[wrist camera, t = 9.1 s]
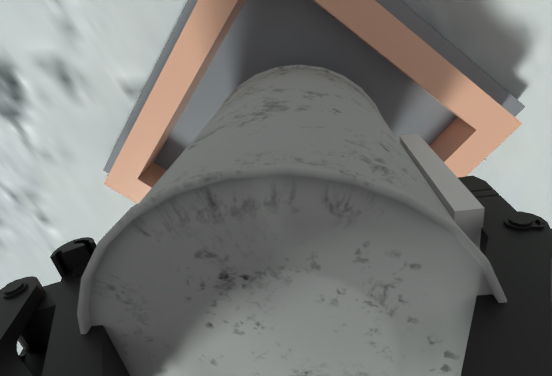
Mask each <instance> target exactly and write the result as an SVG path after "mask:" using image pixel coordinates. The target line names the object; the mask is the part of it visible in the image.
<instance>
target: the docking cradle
mask: <svg viewBox="0 0 552 376" xmlns="http://www.w3.org/2000/svg"><path fill="white" fill-rule="evenodd" d="M290 65H308V66H315V67H323V68H325V69H328V70H330V71H333V72H336V73H338V74H341V75H343V76H345V77H346V78H348V79H349V80H351V81H352V82H353V83H355V84H356V85H358V86H359V87H361V88H362V89H363V90H364V92H365V93H366V94H367V95H368V96H369V97H370V98H371V100H372V101H373V102H374V103H375V104H376V106H377V108H378V110H379V112H380V114H381V116H382V118H383V119H384V121H385V122H386V124H387V125H388V126H389V128H390V129H391V131H392V132H393V134H394V135H395V137H396V138H397V139H398V141H399V135H405V134H412V133H418V134H419V135H420V136H421V137H422V139H423V140H424V141H425V142H426V143H427V144H428V145H429V146H430V148H431V149H432V150H433V151H434V152H435V153H436V154H437V155H438V156H439V158H440V159H441V160H442V161H443V162H444V163H445V164H446V165H447V167H448V168H449V169H450V170H451V171H452V172H453V173H454V174H455V175H456V177H457V178H458V177H466V176H467V175H468V174H469V173H470V172H471V171H472V170H473V169H474V168H475V167H476V166H478V165H479V164H480V163H481V162H482V161H483V160H484V159H485V158H486V157H487V156H488V155H489V154H490V153H491V152H493V151H494V150H495V149H496V148H497V147H498V146H499V145H500V144H501V143H502V142H503V141H504V140H505V139H506V138H507V137H509V136H510V135H511V134H512V133H513V132H514V131H515V130H516V129H517V128H518V127H519V126H520V125H521V124H522V123H521V122H520V121H519V120H517V119H516V118H515V116H516V115H517V114H518V113H519V112H520V111H521V110H522V109H523V108H524V107H525V106H524V105H523V104H522V103H521V102H519V101H518V100H517V99H516V98H515V97H514V96H512V95H511V94H510V93H509V92H508V91H506V90H505V89H504V88H503V87H502V86H501V85H499V84H498V83H497V82H496V81H495V80H494V79H492V78H491V77H490V76H489V75H488V74H487V73H485V72H484V71H483V70H482V69H481V68H480V67H478V66H477V65H476V64H475V63H474V62H472V61H471V60H470V59H469V58H468V57H467V56H465V55H464V54H463V53H462V52H461V51H460V50H458V49H457V48H456V47H455V46H454V45H453V44H451V43H450V42H449V41H448V40H447V39H446V38H444V37H443V36H442V35H441V34H440V33H438V32H437V31H436V30H435V29H434V28H433V27H431V26H430V25H429V24H428V23H427V22H426V21H424V20H423V19H422V18H421V17H420V16H419V15H417V14H416V13H415V12H414V11H413V10H412V9H410V8H409V7H408V6H407V5H406V4H404V3H403V2H402V1H401V0H188V2H187V4H186V6H185V8H184V10H183V12H182V14H181V16H180V18H179V20H178V22H177V24H176V26H175V28H174V30H173V32H172V34H171V36H170V38H169V40H168V42H167V44H166V46H165V48H164V50H163V52H162V54H161V56H160V58H159V60H158V62H157V64H156V66H155V68H154V70H153V72H152V74H151V76H150V78H149V80H148V82H147V84H146V86H145V88H144V90H143V92H142V94H141V96H140V98H139V100H138V102H137V104H136V106H135V108H134V110H133V112H132V114H131V116H130V118H129V120H128V122H127V124H126V126H125V128H124V130H123V132H122V134H121V136H120V138H119V140H118V142H117V144H116V146H115V148H114V150H113V152H112V154H111V156H110V158H109V160H108V162H107V164H106V166H105V168H104V171H106V172H107V173H109V175H108V177H107V179H106V180H105V182H104V184H105V185H106V186H108V187H110V188H111V189H113V190H115V191H117V192H118V193H120V194H122V195H123V196H125V197H127V198H129V199H130V200H132V201H134V202H135V203H137V204H138V203H139V202H140V201H141V200H142V199H143V198H144V197H145V195H146V194H147V193H148V192H149V191H150V190H151V188H152V187H153V186H154V185H155V184H156V183H157V181H158V180H159V179H160V178H161V177H162V176H163V175H164V173H165V172H166V171H167V170H168V169H169V168H170V166H171V165H172V164H173V163H174V162H175V161H176V159H177V158H178V157H179V156H180V155H181V154H182V153H183V151H184V150H185V149H186V148H187V147H188V146H189V144H190V143H191V142H192V141H193V140H194V139H195V137H196V136H197V135H198V134H199V133H200V132H201V130H202V129H203V128H204V127H205V126H206V125H207V124H208V122H209V121H210V120H211V119H212V118H213V117H214V115H215V114H216V113H217V112H218V111H219V109H220V107H221V106H222V104H223V102H224V101H225V100H226V99H227V98H228V97H229V96H230V94H231V93H232V92H233V91H234V90H235V89H236V88H237V87H238V86H239V85H241V84H242V83H244V82H245V81H247V80H248V79H250V78H252V77H253V76H255V75H256V74H259V73H261V72H264V71H267V70H270V69H273V68H276V67H281V66H290Z"/></svg>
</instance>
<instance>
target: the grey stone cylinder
mask: <svg viewBox="0 0 552 376" xmlns="http://www.w3.org/2000/svg"><path fill="white" fill-rule="evenodd" d="M489 294H493V295H494V296H495V298H496V299H497V301H498V302H499V303H505V302H507V299H506V297H505V295H504V292H503V290H502V288H501V286H500V284H499V281H498V279H497V277H496V275H495V273H494V271H493V268H492V266H491V264H490V262H489V260H488V259H487V258H486V256H485V255H484V254H483V253H482V252H481V251H480V250H479V249H478V247H477V246H476V245H475V244H474V243H473V242H472V241H471V240H470V239H469V237H468V236H467V235H466V234H465V233H464V232H463V231H462V230H461V229H460V227H459V226H458V225H457V224H456V223H455V221H454V220H453V218H452V217H451V215H450V214H449V213H448V211H447V210H446V208H445V207H444V205H443V204H442V202H441V201H440V200H439V198H438V197H437V195H436V194H435V192H434V191H433V190H432V188H431V187H430V185H429V184H428V182H427V181H426V180H425V178H424V177H423V175H422V174H421V172H420V171H419V169H418V168H417V167H416V165H415V164H414V162H413V161H412V159H411V158H410V157H409V155H408V154H407V152H406V151H405V149H404V148H403V147H402V145H401V144H400V142H399V141H398V139H397V138H396V137H395V135H394V134H393V132H392V131H391V129H390V128H389V126H388V125H387V124H386V122H385V121H384V119H383V118H382V116H381V114H380V112H379V110H378V108H377V106H376V104H375V103H374V102H373V101H372V100H371V98H370V97H369V96H368V95H367V94H366V93H365V92H364V90H363V89H362V88H361V87H359V86H358V85H356V84H355V83H353V82H352V81H351V80H349V79H348V78H346V77H345V76H343V75H341V74H338V73H336V72H333V71H330V70H328V69H325V68H323V67H315V66H308V65H290V66H281V67H276V68H273V69H270V70H267V71H264V72H261V73H259V74H256V75H255V76H253V77H252V78H250V79H248V80H247V81H245V82H244V83H242V84H241V85H239V86H238V87H237V88H236V89H235V90H234V91H233V92H232V93H231V94H230V96H229V97H228V98H227V99H226V100H225V101H224V102H223V104H222V106H221V107H220V109H219V111H218V112H217V113H216V114H215V115H214V117H213V118H212V119H211V120H210V121H209V122H208V124H207V125H206V126H205V127H204V128H203V129H202V130H201V132H200V133H199V134H198V135H197V136H196V137H195V139H194V140H193V141H192V142H191V143H190V144H189V146H188V147H187V148H186V149H185V150H184V151H183V153H182V154H181V155H180V156H179V157H178V158H177V159H176V161H175V162H174V163H173V164H172V165H171V166H170V168H169V169H168V170H167V171H166V172H165V173H164V175H163V176H162V177H161V178H160V179H159V180H158V181H157V183H156V184H155V185H154V186H153V187H152V188H151V190H150V191H149V192H148V193H147V194H146V195H145V197H144V198H143V199H142V200H141V201H140V202H139V203H138V204H136V205H135V206H133V207H131V208H130V210H129V211H128V212H127V213H126V214H125V215H124V216H123V217H122V218H121V219H120V220H119V221H118V222H117V223H116V224H115V225H114V226H113V227H112V228H111V229H110V231H109V232H108V233H107V234H106V235H105V236H104V237H103V238H102V239H101V240H100V241H99V242H98V244H97V246H96V248H95V250H94V252H93V254H92V256H91V258H90V261H89V263H88V265H87V267H86V269H85V271H84V273H83V275H82V277H81V284H80V292H79V300H78V308H77V318H78V323H79V328H80V333H81V334H87V332H88V331H89V329H90V328H91V326H97V325H103V326H104V328H105V330H106V332H107V334H108V335H109V337H110V339H111V341H112V343H113V345H114V347H115V348H116V350H117V352H118V354H119V356H120V358H121V360H122V361H123V363H124V365H125V367H126V369H127V371H128V373H129V374H130V376H461V371H462V366H463V361H464V356H465V351H466V346H467V341H468V336H469V331H470V326H471V321H472V316H473V311H474V306H475V301H476V296H477V295H489Z"/></svg>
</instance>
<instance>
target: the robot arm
mask: <svg viewBox="0 0 552 376" xmlns="http://www.w3.org/2000/svg"><path fill="white" fill-rule="evenodd" d="M399 142H400V144H401V145H402V147H403V148H404V149H405V151H406V152H407V154H408V155H409V157H410V158H411V159H412V161H413V162H414V164H415V165H416V167H417V168H418V169H419V171H420V172H421V174H422V175H423V177H424V178H425V180H426V181H427V182H428V184H429V185H430V187H431V188H432V190H433V191H434V192H435V194H436V195H437V197H438V198H439V200H440V201H441V202H442V204H443V205H444V207H445V208H446V210H447V211H448V213H449V214H450V215H451V217H452V218H453V220H454V221H455V223H456V224H457V225H458V226H459V227H460V229H461V230H462V231H463V232H464V233H465V234H466V235H467V236H468V237H469V239H470V240H471V241H472V242H473V243H474V244H475V245H476V246H477V247H478V249H479V250H480V251H481V252H482V253H483V254H484V255H485V256H486V258H487V259H488V260H489V262H490V264H491V266H492V268H493V271H494V273H495V275H496V277H497V279H498V281H499V284H500V286H501V288H502V290H503V292H504V295H505V297H506V299H507V302H505V303H499V302H498V301H497V299H496V298H495V296H494V295H493V294H489V295H477V296H476V301H475V306H474V311H473V316H472V321H471V326H470V331H469V336H468V341H467V346H466V351H465V356H464V361H463V366H462V371H461V376H552V229H550V227H549V225H548V222H546V221H545V220H544V219H542V218H541V217H538V216H536V215H533V214H530V213H525V212H517V211H516V210H515V209H514V208H513V207H512V206H511V205H510V204H509V203H507V202H506V201H505V200H504V199H503V198H502V197H501V196H499V194H498V193H497V192H496V191H495V190H493V188H492V187H491V186H490V185H489V184H488V183H487V182H486V181H484V180H482V179H479V178H477V177H475V176H466V177H458V178H457V177H456V175H455V174H454V173H453V172H452V171H451V170H450V169H449V168H448V167H447V165H446V164H445V163H444V162H443V161H442V160H441V159H440V158H439V156H438V155H437V154H436V153H435V152H434V151H433V150H432V149H431V148H430V146H429V145H428V144H427V143H426V142H425V141H424V140H423V139H422V137H421V136H420V135H419V134H418V133H412V134H405V135H399ZM95 248H96V244H95V242H94V240H93V239H92V238H89V237H87V238H80V239H76V240H73V241H71V242H68V243H66V244H64V245H63V246H61V247H59V248H58V249H57V250H56V251H54V252H53V254H52V255H51V257H50V258H51V259H52V261H53V263H54V265H55V266H56V268H57V270H58V272H59V274H60V275H61V277H62V279H61V282H57V283H54V284H51V285H47V286H44V287H42V285H41V284H40V282H39V280H38V279H37V277H25V278H22V279H18V280H15V281H13V282H11V283H9V284H7V285H6V286H5V287H4V288H2V289H1V290H0V376H130V374H129V373H128V371H127V369H126V367H125V365H124V363H123V361H122V360H121V358H120V356H119V354H118V352H117V350H116V348H115V347H114V345H113V343H112V341H111V339H110V337H109V335H108V334H107V332H106V330H105V328H104V326H103V325H97V326H91V328H90V329H89V331H88V332H87V334H81V333H80V328H79V323H78V318H77V308H78V300H79V292H80V284H81V277H82V275H83V273H84V271H85V269H86V267H87V265H88V263H89V261H90V258H91V256H92V254H93V252H94V250H95ZM17 341H19V343H20V344H21V346H22V347H23V350H22V352H21V353H20V355H18V353H17Z"/></svg>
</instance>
